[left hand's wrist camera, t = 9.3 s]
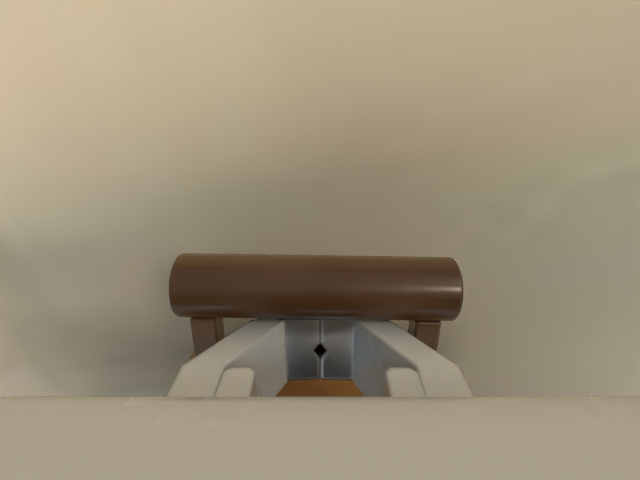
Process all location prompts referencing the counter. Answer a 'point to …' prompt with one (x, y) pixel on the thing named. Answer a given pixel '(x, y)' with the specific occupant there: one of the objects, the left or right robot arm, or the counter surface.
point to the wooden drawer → (314, 297)
